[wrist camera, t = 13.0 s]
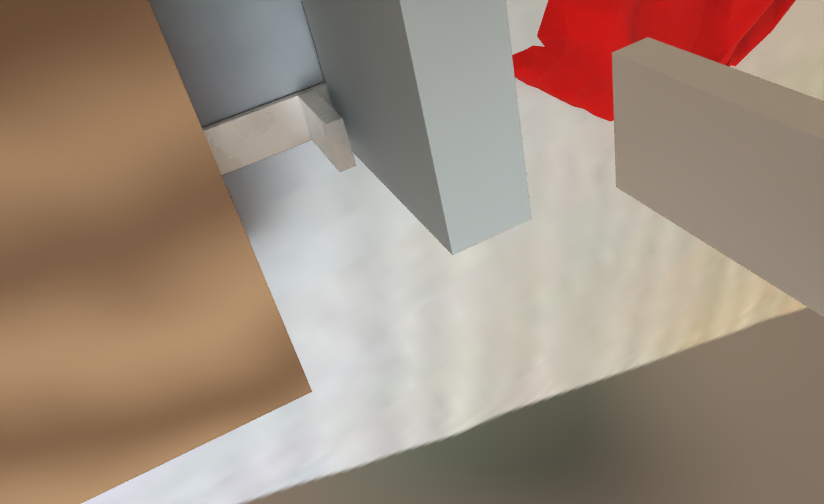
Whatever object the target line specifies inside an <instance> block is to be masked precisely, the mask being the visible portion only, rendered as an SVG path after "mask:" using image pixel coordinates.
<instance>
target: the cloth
mask: <svg viewBox="0 0 824 504" xmlns="http://www.w3.org/2000/svg"><path fill="white" fill-rule="evenodd" d="M795 1H796V0H548V3H547V7H546V10H545V13H544V16H543V19H542V22H541V25H540V28H539V31H538V35H537V36H538V38H539V39H540V40H541V42H542V43H543V45H544V46H545V47H542V46H531V47H530V48H528V49H526V50H524V51H521V52H519V53H516V54H514V55H512V59H513V67H514V76H515V77H516V78H518V79H519V80H521V81H523V82H524V83H526V84H527V85H530V86H533V87H536V88H538V89H540V90H542V91H544V92H546V93H548V94H550V95H552V96H554V97H556V98H558V99H560V100H562V101H564V102H566V103H568V104H570V105H572V106H575V107H579V108H582V109H585V110H587V111H588V112H590V113H592V114H593V115H595V116H598V117H600V118H603V119H605V120H608V121H613V120H614V103H613V71H612V52H615V51H617V50H619V49H621V48H624V47H626V46H628V45H631V44H633V43H635V42H638V41H640V40H642V39H645V38H647V37H649V38H652V39H655V40H657V41H660V42H663V43H665V44H668V45H671V46H674V47H676V48H679V49H682V50H685V51H687V52H690V53H693V54H696V55H698V56H701V57H704V58H707V59H709V60H712V61H715V62H718V63H720V64H723V65H726V66H729V67H730V65H733V66H736V65H737V64H738V63H739V62H740V61H741V60H742V59H743V58H744V57H745V56H746V55H747V54H748V53H749V52H750V51H751V50H752V49H753V48H755V47H756V46H757V45H758V44H759V43H760V42H761V41H762V40H763V39H764V38H765V37H766V36H767V35H768V34H769V33H771V31H772V30H773V29H774V28H775V26H776V25H777V24H778V22H779V21H780V20H781V19H782V17H783V16H784V15H785V13H786V12H787V11H788V10H789V8H790V7H791V6H792V4H793V3H794V2H795Z"/></svg>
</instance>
